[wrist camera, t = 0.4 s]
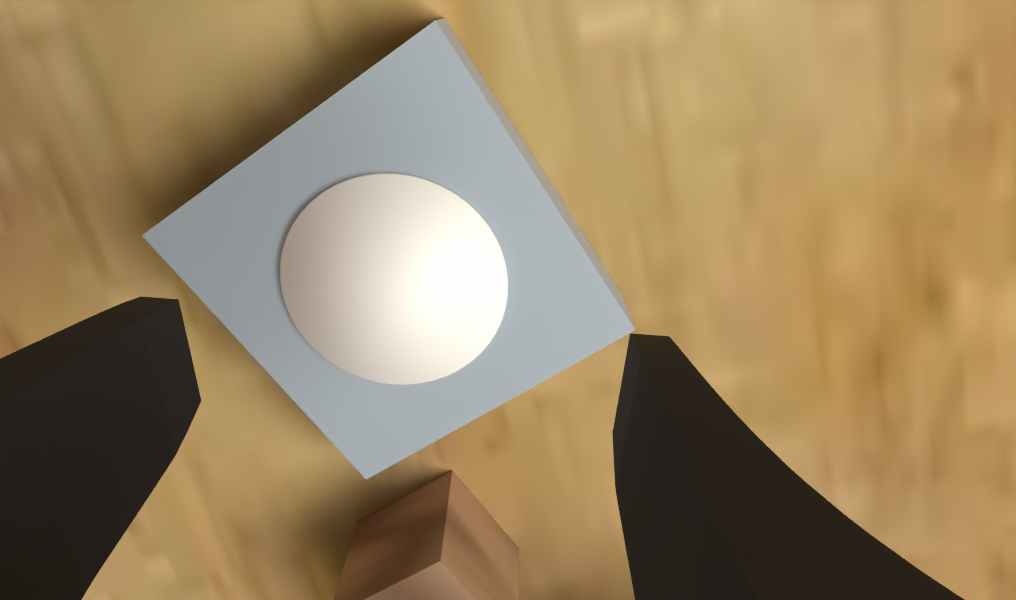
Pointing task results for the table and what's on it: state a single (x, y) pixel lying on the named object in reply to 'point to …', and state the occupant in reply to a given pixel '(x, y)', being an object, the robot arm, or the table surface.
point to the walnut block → (431, 550)
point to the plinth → (397, 257)
